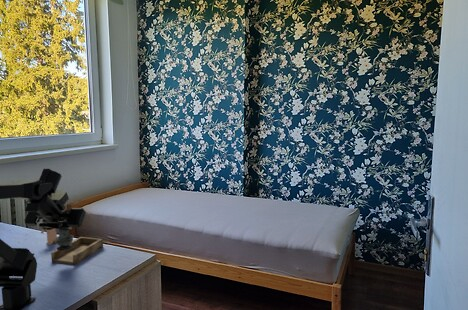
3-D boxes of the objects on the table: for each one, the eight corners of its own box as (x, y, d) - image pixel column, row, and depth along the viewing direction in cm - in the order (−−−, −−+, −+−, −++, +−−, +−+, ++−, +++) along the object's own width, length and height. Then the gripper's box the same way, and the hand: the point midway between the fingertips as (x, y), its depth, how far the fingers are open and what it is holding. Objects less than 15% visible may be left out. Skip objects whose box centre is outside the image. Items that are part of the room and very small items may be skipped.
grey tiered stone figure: (52, 248, 123) (50, 214, 121) (69, 243, 127) (67, 211, 125) (60, 252, 119) (58, 218, 117) (77, 247, 123) (75, 214, 122)
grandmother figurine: (55, 239, 147) (53, 210, 145) (62, 240, 146) (60, 211, 144) (39, 246, 140) (37, 215, 138) (46, 247, 139) (44, 216, 137)
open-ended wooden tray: (75, 264, 123) (75, 255, 123) (51, 261, 126) (51, 252, 125) (103, 247, 139) (102, 239, 138) (81, 245, 141) (80, 236, 141)
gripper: (81, 185, 115) (98, 208, 128) (27, 184, 117) (49, 207, 129) (70, 215, 108) (89, 236, 121) (12, 214, 110) (37, 235, 122)
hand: (66, 228), depth 123 cm, fingers closed on grey tiered stone figure, 4 cm apart
